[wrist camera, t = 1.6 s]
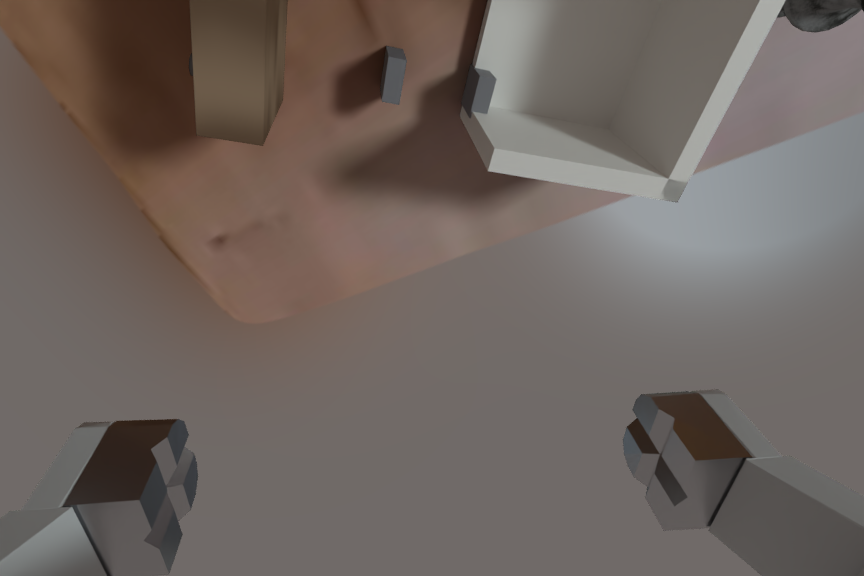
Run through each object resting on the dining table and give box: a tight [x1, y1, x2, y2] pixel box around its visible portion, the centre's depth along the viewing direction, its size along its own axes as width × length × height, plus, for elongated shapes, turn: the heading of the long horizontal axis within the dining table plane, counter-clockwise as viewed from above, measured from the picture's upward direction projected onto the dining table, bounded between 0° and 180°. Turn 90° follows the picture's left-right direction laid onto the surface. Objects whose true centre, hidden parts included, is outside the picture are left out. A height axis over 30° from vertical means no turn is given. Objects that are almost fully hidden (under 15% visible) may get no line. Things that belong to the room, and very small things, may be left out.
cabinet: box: [380, 0, 786, 202], centre depth 25 cm, size 14×16×9 cm
